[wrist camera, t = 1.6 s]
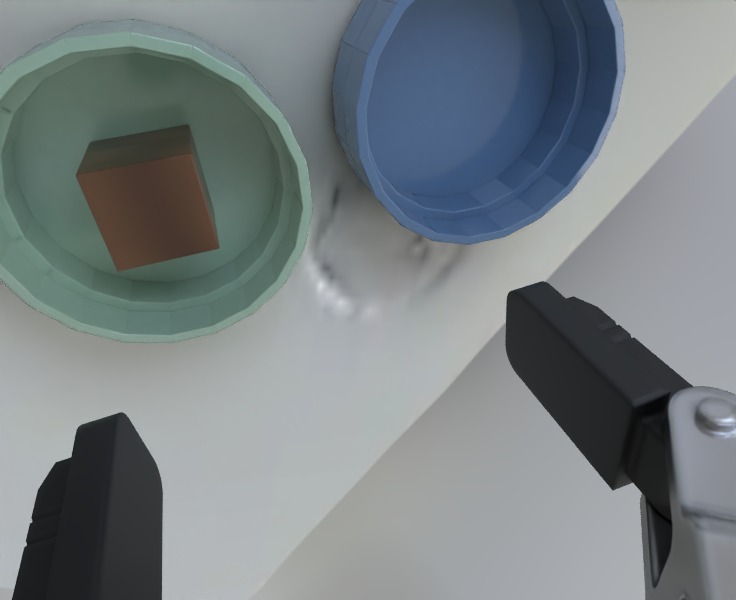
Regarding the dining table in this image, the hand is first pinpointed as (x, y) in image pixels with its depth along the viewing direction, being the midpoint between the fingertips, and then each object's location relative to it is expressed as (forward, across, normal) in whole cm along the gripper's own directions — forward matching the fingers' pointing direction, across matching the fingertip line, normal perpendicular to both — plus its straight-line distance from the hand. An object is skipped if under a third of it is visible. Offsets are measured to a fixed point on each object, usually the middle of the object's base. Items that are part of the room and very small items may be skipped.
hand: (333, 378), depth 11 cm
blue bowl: (+20, -12, +1) cm, 23 cm away
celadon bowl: (+20, +4, +2) cm, 20 cm away
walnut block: (+19, +4, +2) cm, 20 cm away
